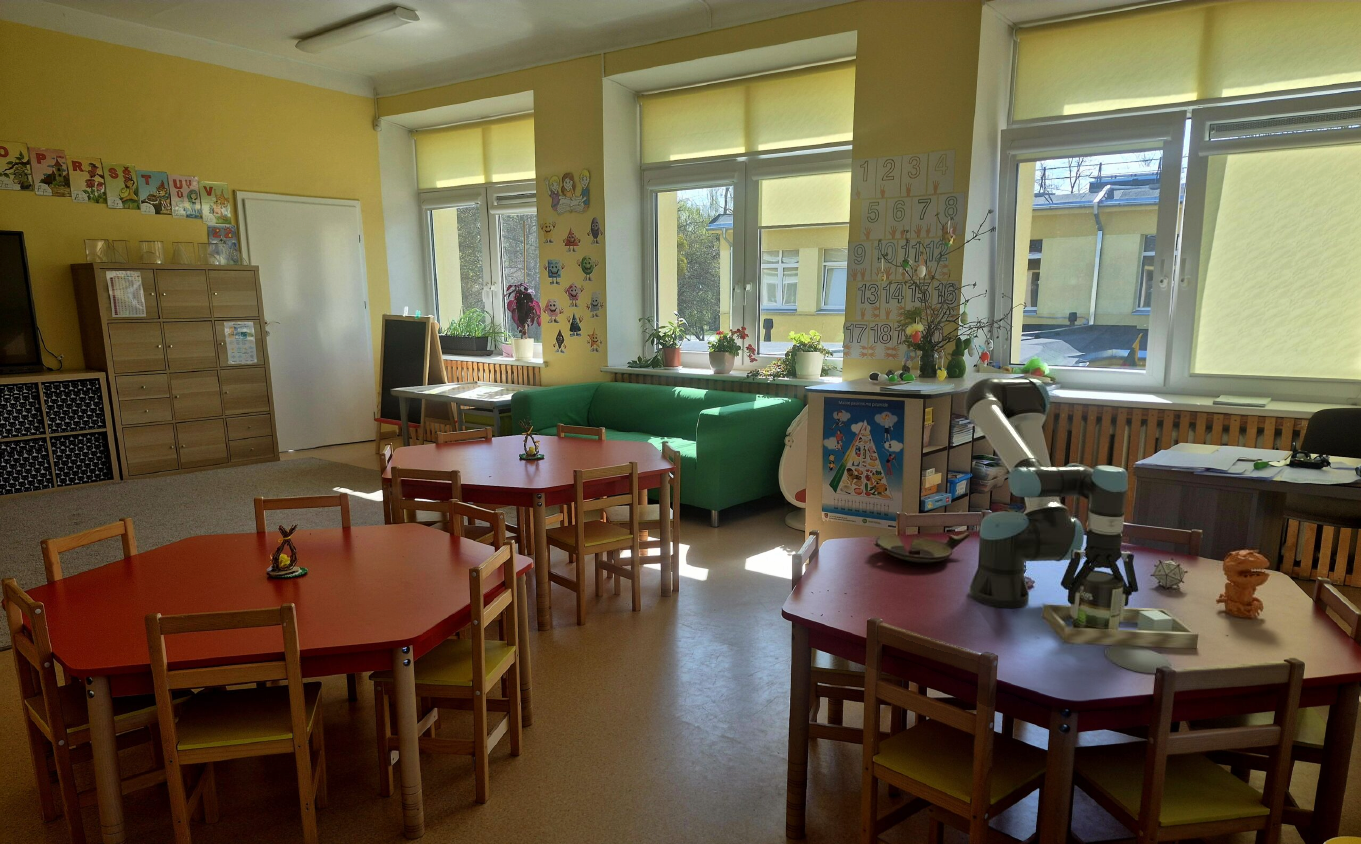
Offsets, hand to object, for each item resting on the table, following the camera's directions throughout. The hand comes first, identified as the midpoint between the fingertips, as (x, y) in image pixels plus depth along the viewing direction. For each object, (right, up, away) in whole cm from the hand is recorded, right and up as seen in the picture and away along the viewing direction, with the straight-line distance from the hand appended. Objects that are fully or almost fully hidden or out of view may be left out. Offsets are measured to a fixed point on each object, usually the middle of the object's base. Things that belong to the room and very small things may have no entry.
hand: (1096, 616), depth 192 cm
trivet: (+2, -6, -14) cm, 16 cm away
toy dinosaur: (+44, -2, +12) cm, 46 cm away
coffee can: (0, -4, +1) cm, 4 cm away
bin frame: (+5, -4, 0) cm, 6 cm away
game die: (+37, +1, +30) cm, 48 cm away
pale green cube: (+14, -4, -1) cm, 15 cm away
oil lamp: (-27, +5, +52) cm, 59 cm away
